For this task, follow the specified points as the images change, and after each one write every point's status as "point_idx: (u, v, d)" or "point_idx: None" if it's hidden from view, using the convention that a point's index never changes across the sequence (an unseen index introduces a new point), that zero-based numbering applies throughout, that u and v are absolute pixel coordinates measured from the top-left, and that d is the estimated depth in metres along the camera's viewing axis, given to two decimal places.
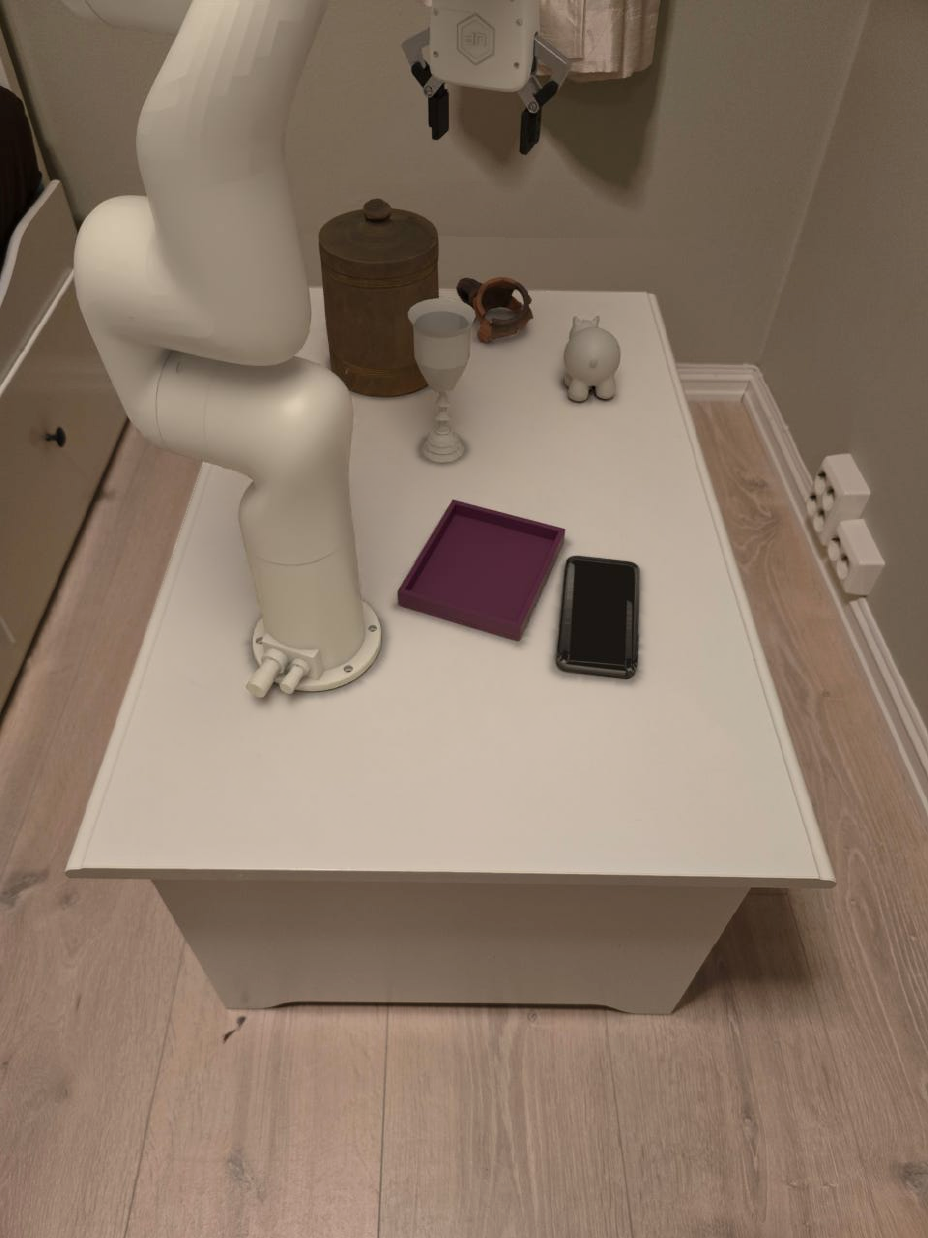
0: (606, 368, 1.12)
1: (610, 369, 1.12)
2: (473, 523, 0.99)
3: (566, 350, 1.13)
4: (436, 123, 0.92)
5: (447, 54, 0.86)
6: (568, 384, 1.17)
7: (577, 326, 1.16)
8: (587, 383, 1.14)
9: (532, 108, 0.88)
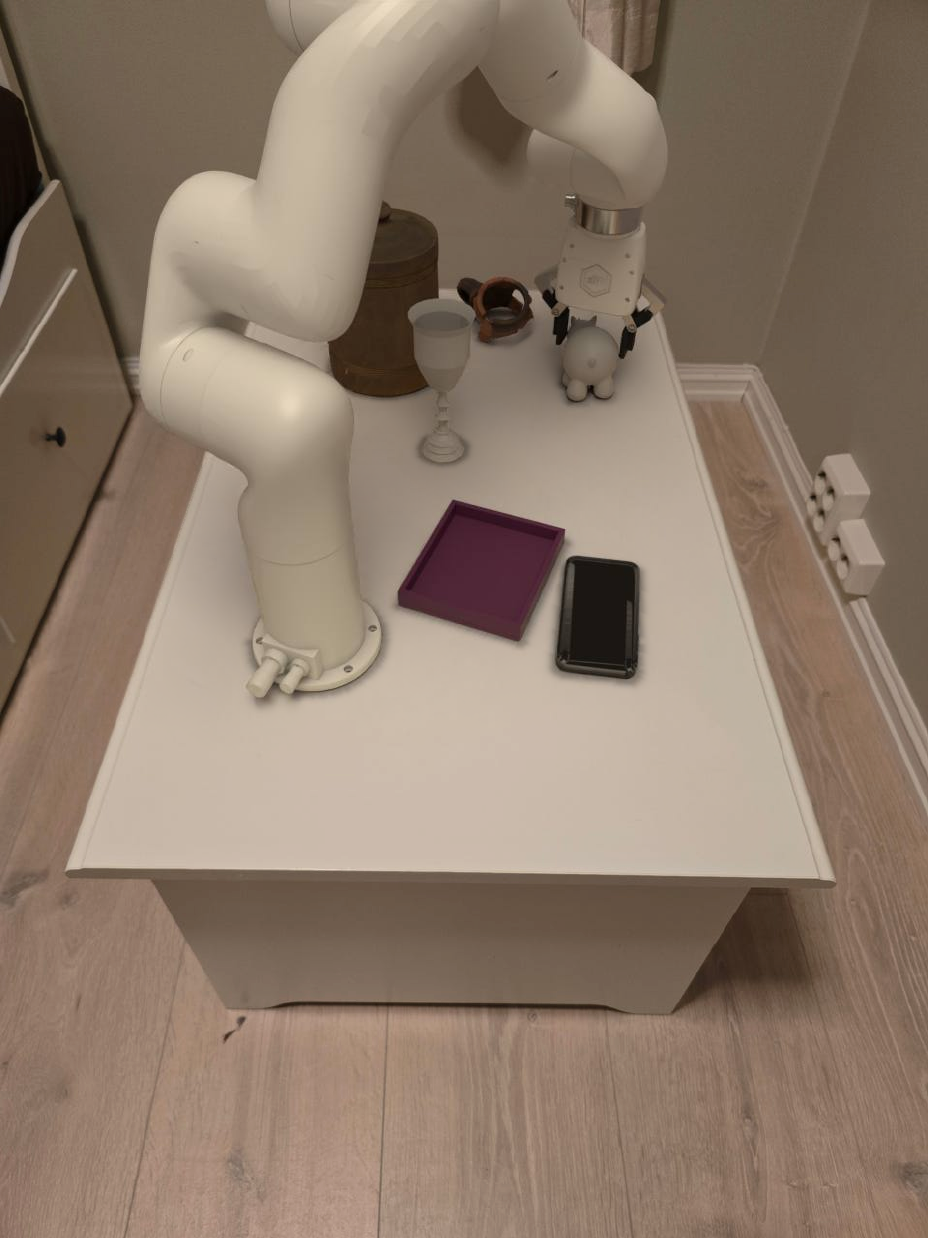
0: (605, 367, 1.12)
1: (608, 368, 1.12)
2: (473, 523, 0.99)
3: (564, 350, 1.13)
4: (560, 334, 1.15)
5: (571, 288, 1.08)
6: (566, 384, 1.17)
7: (575, 326, 1.16)
8: (585, 382, 1.14)
9: (631, 328, 1.11)
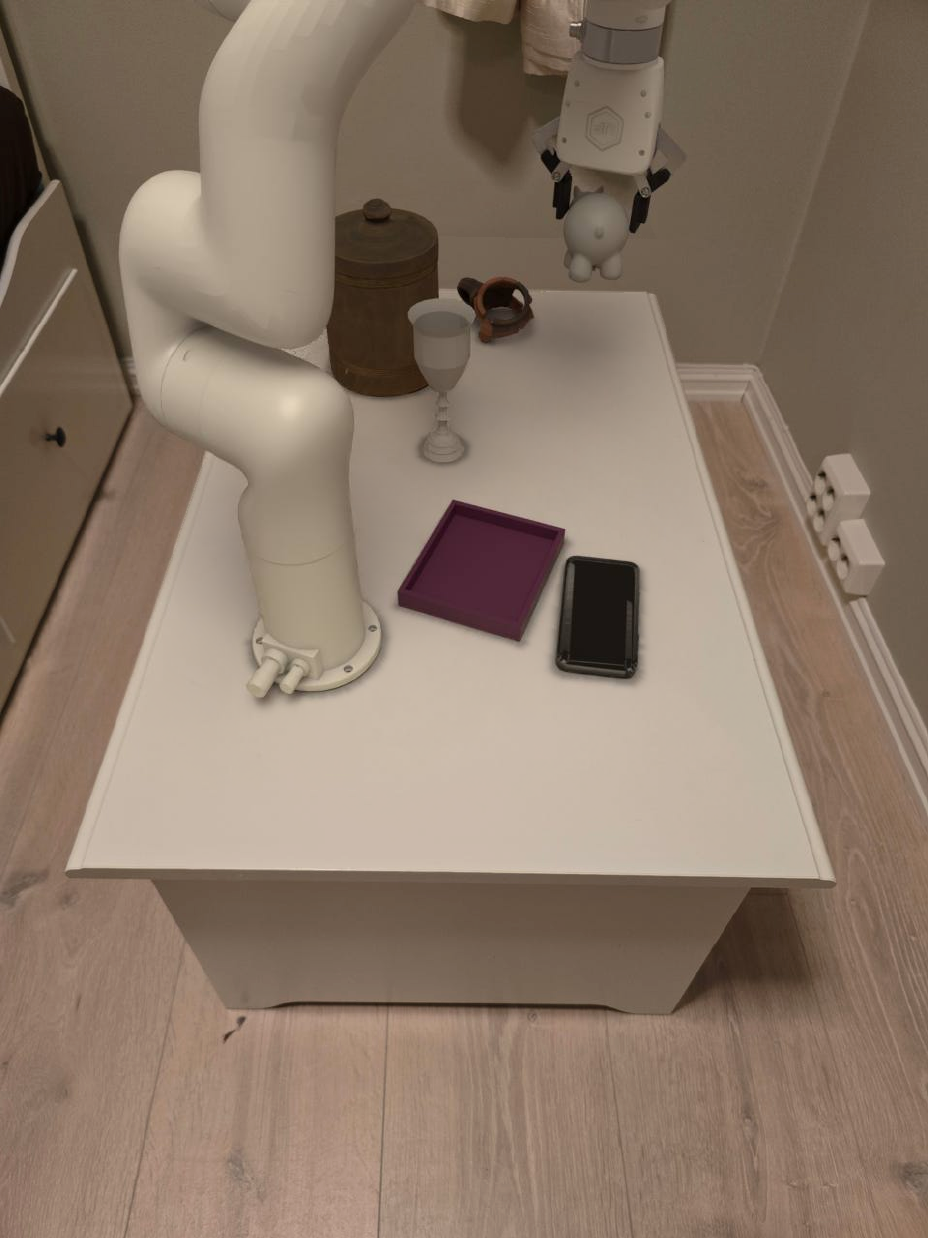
0: (614, 238, 0.96)
1: (618, 241, 0.96)
2: (473, 523, 0.99)
3: (566, 220, 0.97)
4: (561, 205, 0.99)
5: (575, 140, 0.92)
6: (568, 265, 1.01)
7: (578, 197, 1.00)
8: (590, 259, 0.98)
9: (644, 193, 0.95)
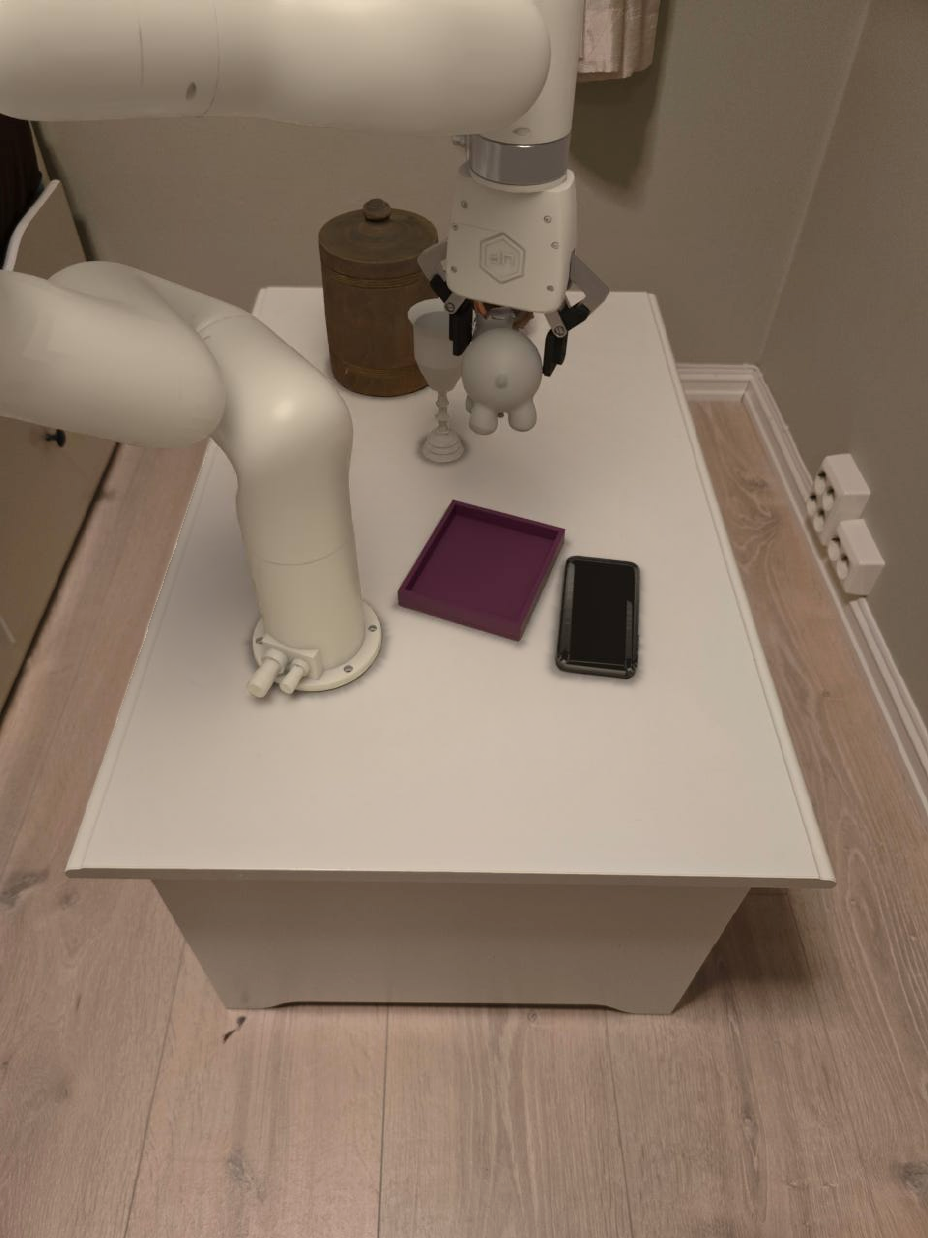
0: (521, 387, 0.76)
1: (526, 389, 0.77)
2: (473, 523, 0.99)
3: (463, 361, 0.77)
4: (458, 340, 0.79)
5: (467, 271, 0.73)
6: (470, 410, 0.82)
7: (481, 327, 0.80)
8: (494, 409, 0.78)
9: (558, 332, 0.75)
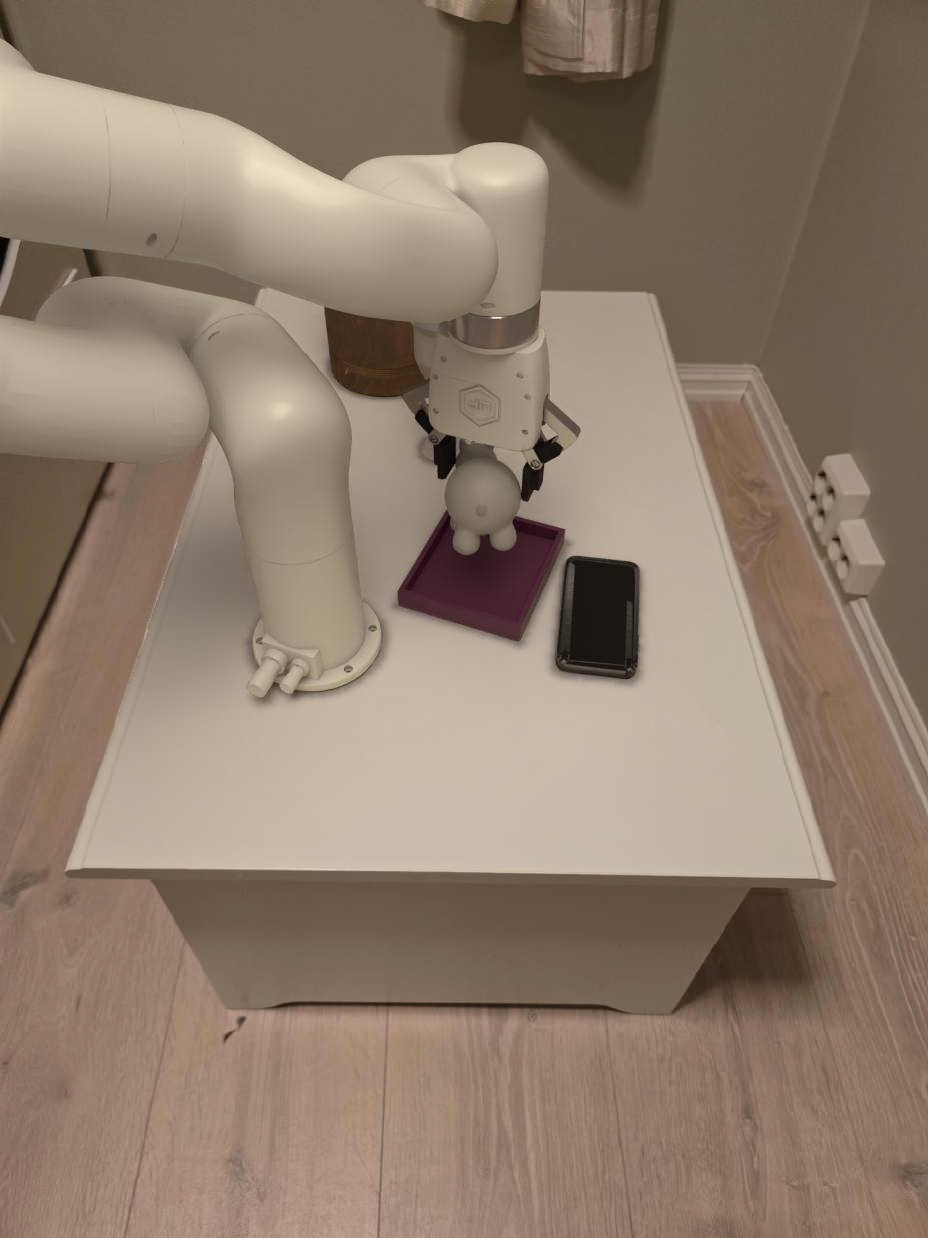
0: (500, 515, 0.81)
1: (505, 516, 0.82)
2: None
3: (446, 489, 0.83)
4: (442, 467, 0.84)
5: (448, 413, 0.78)
6: (454, 529, 0.87)
7: (464, 452, 0.86)
8: (475, 532, 0.83)
9: (534, 465, 0.80)
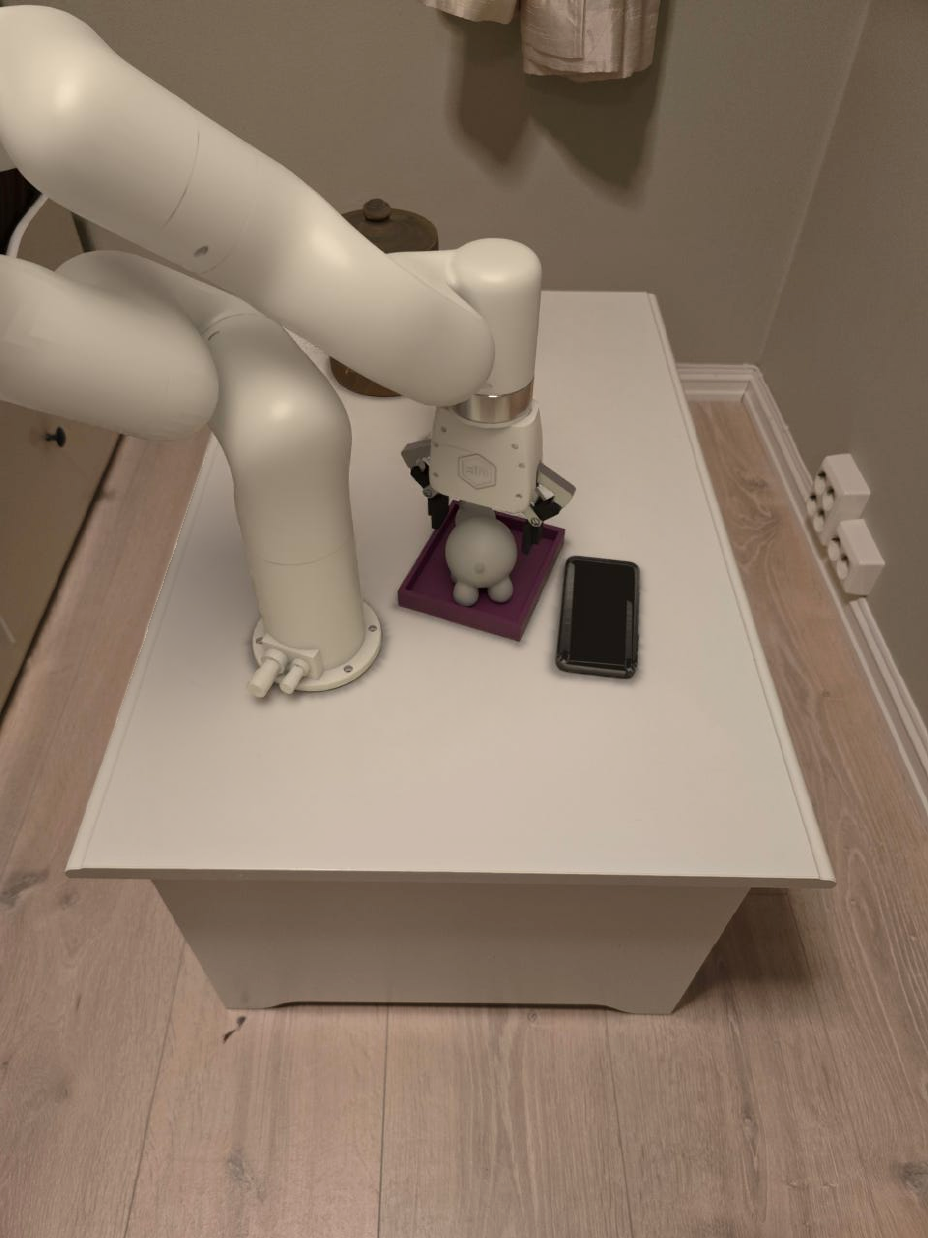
0: (497, 572, 0.87)
1: (502, 573, 0.87)
2: None
3: (447, 547, 0.88)
4: (436, 518, 0.89)
5: (447, 477, 0.83)
6: (455, 581, 0.92)
7: (464, 510, 0.91)
8: (474, 587, 0.89)
9: (535, 522, 0.85)
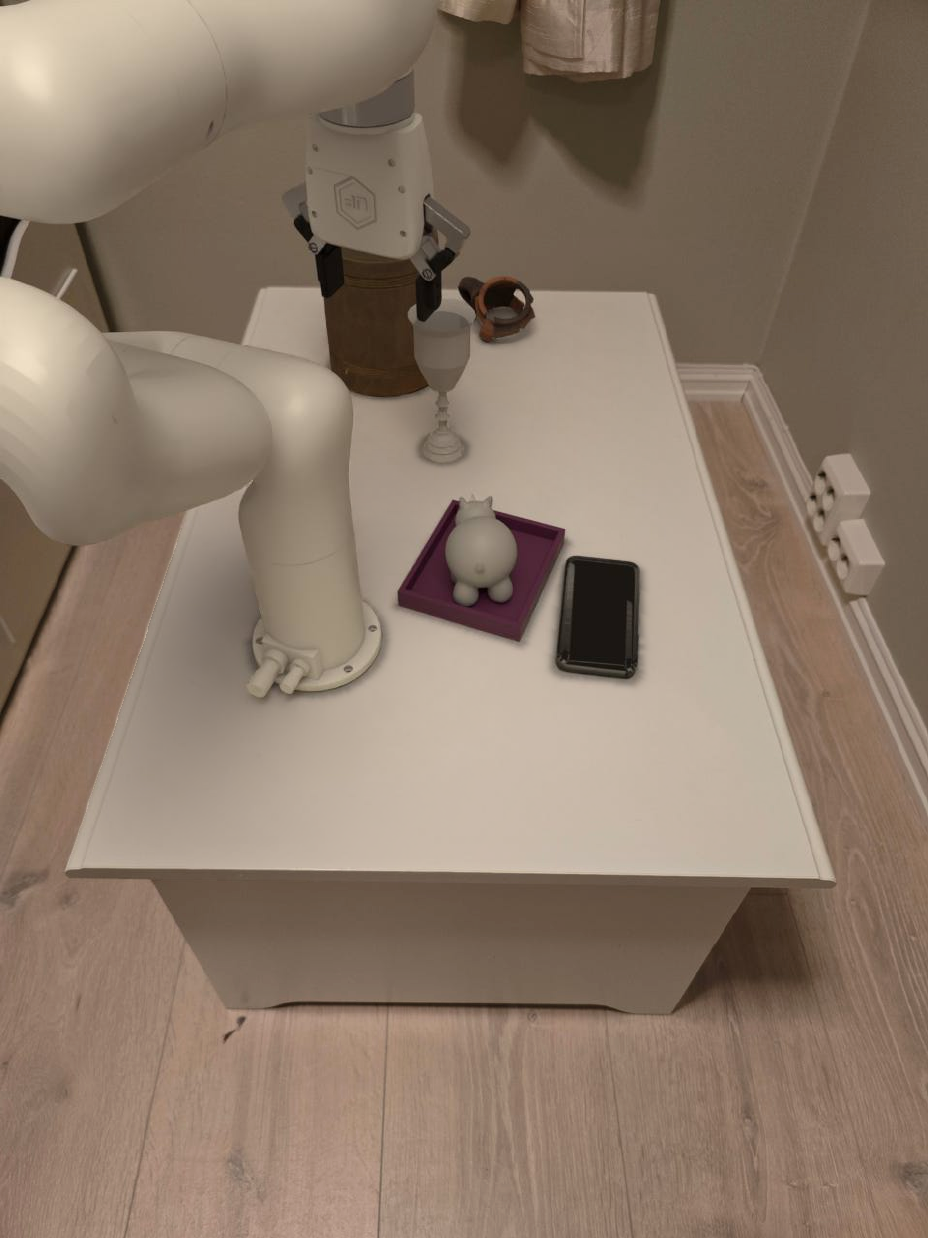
0: (497, 572, 0.87)
1: (502, 573, 0.87)
2: None
3: (447, 547, 0.88)
4: (325, 281, 0.80)
5: (326, 215, 0.74)
6: (455, 581, 0.92)
7: (464, 510, 0.91)
8: (474, 587, 0.89)
9: (427, 275, 0.76)
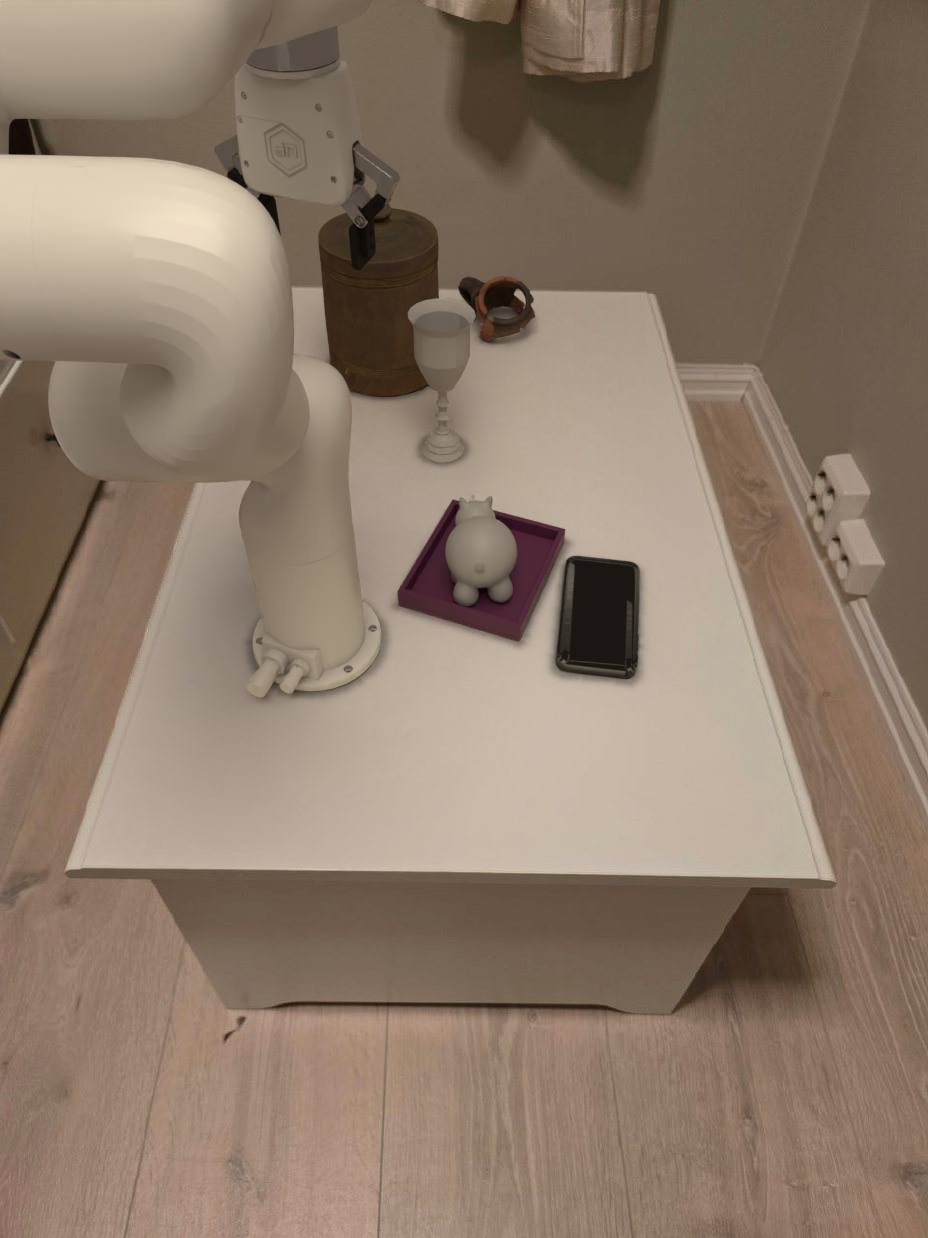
0: (497, 572, 0.87)
1: (502, 573, 0.87)
2: None
3: (447, 547, 0.88)
4: None
5: (258, 164, 0.75)
6: (455, 581, 0.92)
7: (464, 510, 0.91)
8: (474, 587, 0.89)
9: (359, 222, 0.78)
